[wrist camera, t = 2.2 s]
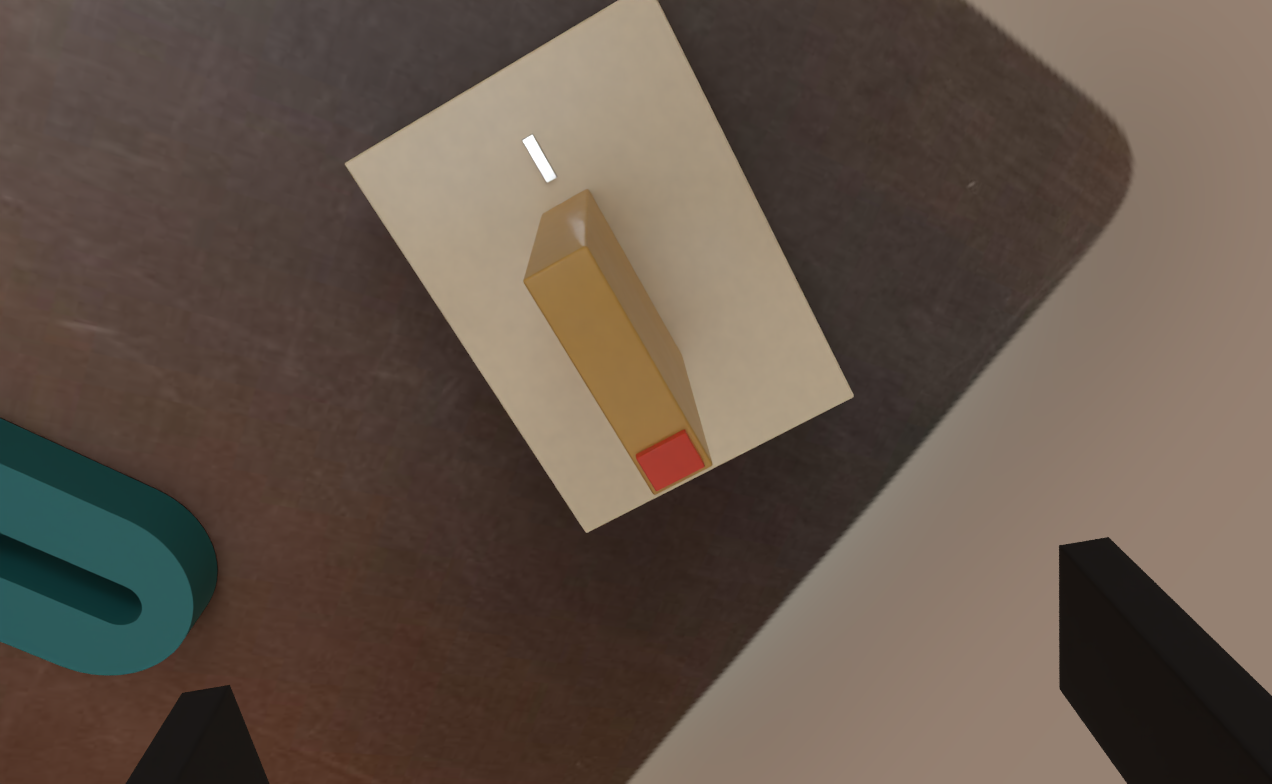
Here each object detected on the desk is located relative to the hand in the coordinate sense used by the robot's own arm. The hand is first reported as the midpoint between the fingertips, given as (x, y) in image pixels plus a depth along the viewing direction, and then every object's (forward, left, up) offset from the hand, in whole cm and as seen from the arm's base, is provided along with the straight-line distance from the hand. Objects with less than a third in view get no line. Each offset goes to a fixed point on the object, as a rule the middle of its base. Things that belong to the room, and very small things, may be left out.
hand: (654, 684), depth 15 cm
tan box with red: (-1, -2, -16) cm, 16 cm away
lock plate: (-1, -2, -19) cm, 19 cm away
